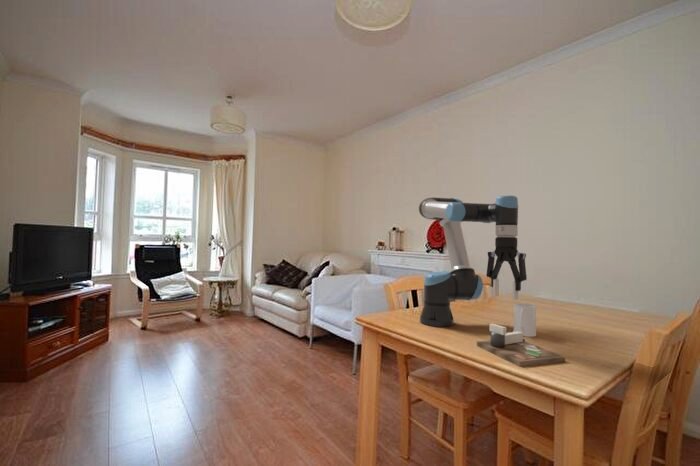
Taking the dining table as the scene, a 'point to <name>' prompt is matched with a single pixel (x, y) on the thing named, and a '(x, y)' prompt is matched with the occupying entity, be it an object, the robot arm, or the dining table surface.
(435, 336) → the dining table surface
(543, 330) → the dining table surface
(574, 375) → the dining table surface
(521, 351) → the board
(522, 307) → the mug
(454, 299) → the robot arm
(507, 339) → the peg lever
